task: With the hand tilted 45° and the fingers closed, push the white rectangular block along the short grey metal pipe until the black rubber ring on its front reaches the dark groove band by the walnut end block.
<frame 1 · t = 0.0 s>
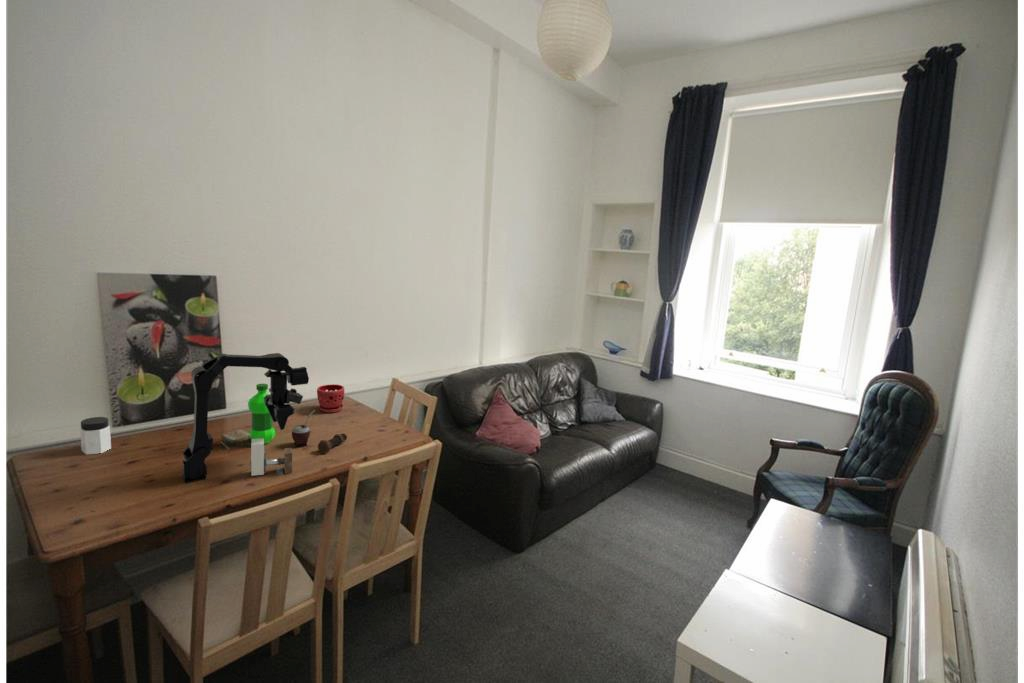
hand: (278, 425, 197), 15 cm above the table, tool pointing down, fingers open, 9 cm apart
jar: (96, 450, 195), on the table
mate gourd: (301, 445, 217), on the table
plastic bottle: (262, 442, 216), on the table
white rectangular block: (258, 456, 187), point 7 cm above the table, slide at 0.0 cm
pipe: (268, 462, 189), point 3 cm above the table
plant pot: (330, 410, 261), on the table
pipe block: (284, 461, 191), on the table
brown knobbed cylinder: (334, 447, 218), on the table
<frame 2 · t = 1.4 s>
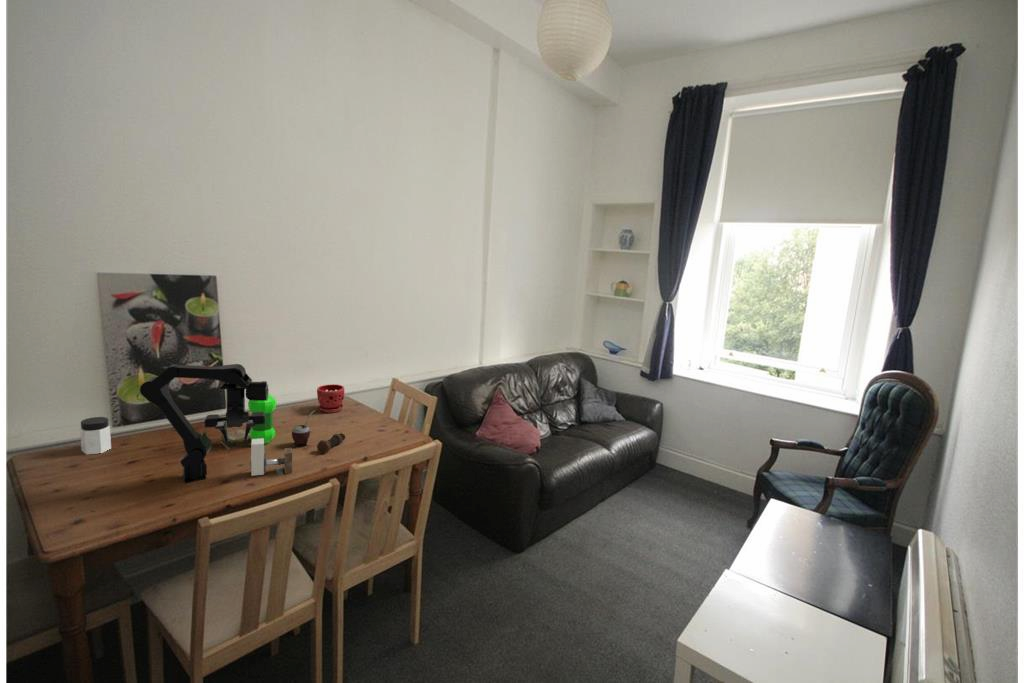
hand: (236, 442, 183), 13 cm above the table, tool pointing down, fingers open, 5 cm apart
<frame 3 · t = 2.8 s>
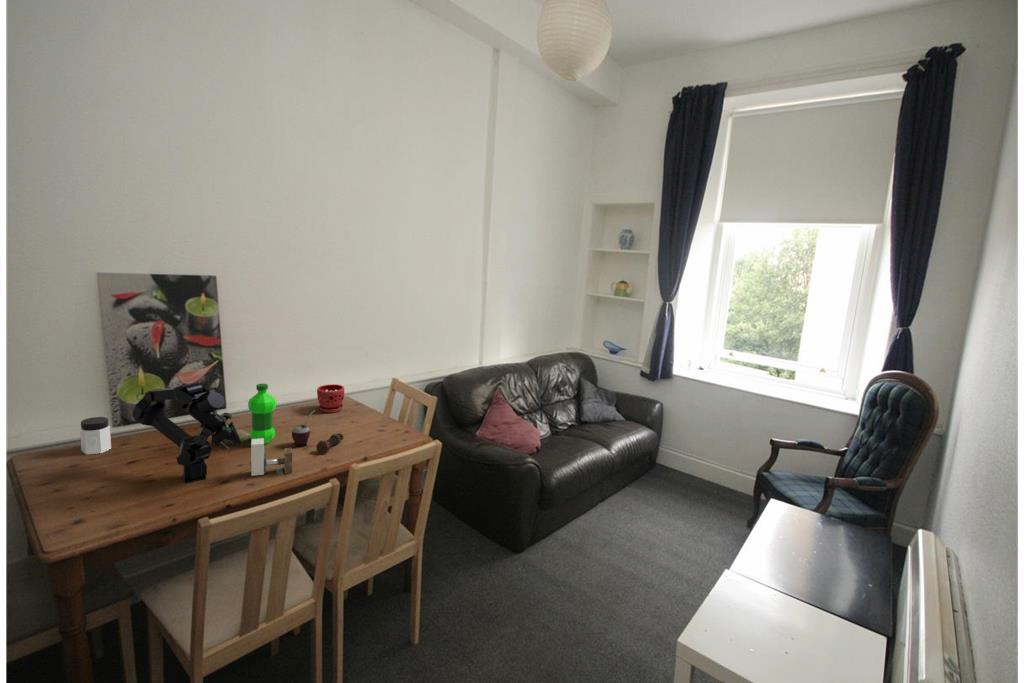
hand: (240, 443, 184), 12 cm above the table, tool tilted 45°, fingers closed
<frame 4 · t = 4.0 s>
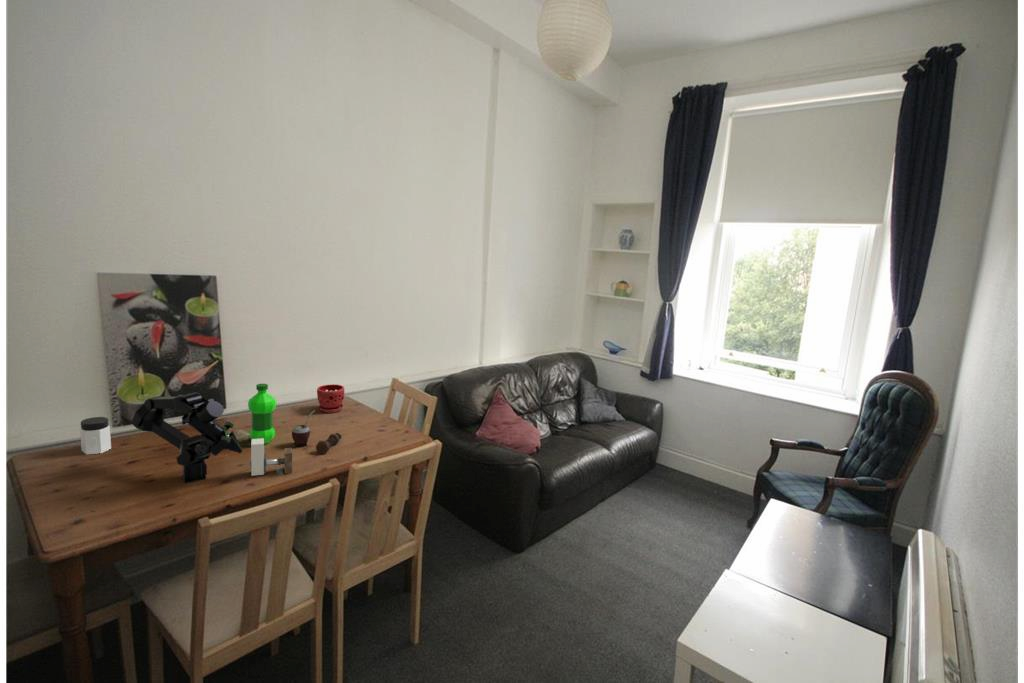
hand: (241, 452, 184), 9 cm above the table, tool tilted 45°, fingers closed
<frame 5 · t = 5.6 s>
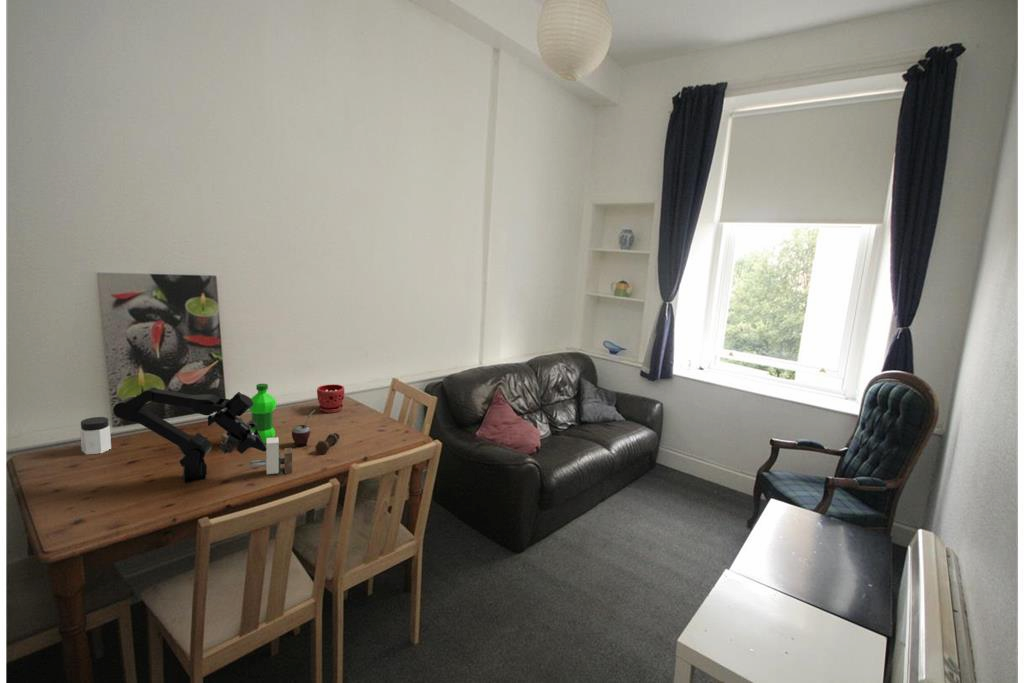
hand: (265, 450, 187), 9 cm above the table, tool tilted 45°, fingers closed, pressing on white rectangular block
white rectangular block: (273, 455, 189), point 7 cm above the table, slide at 4.9 cm, touching gripper
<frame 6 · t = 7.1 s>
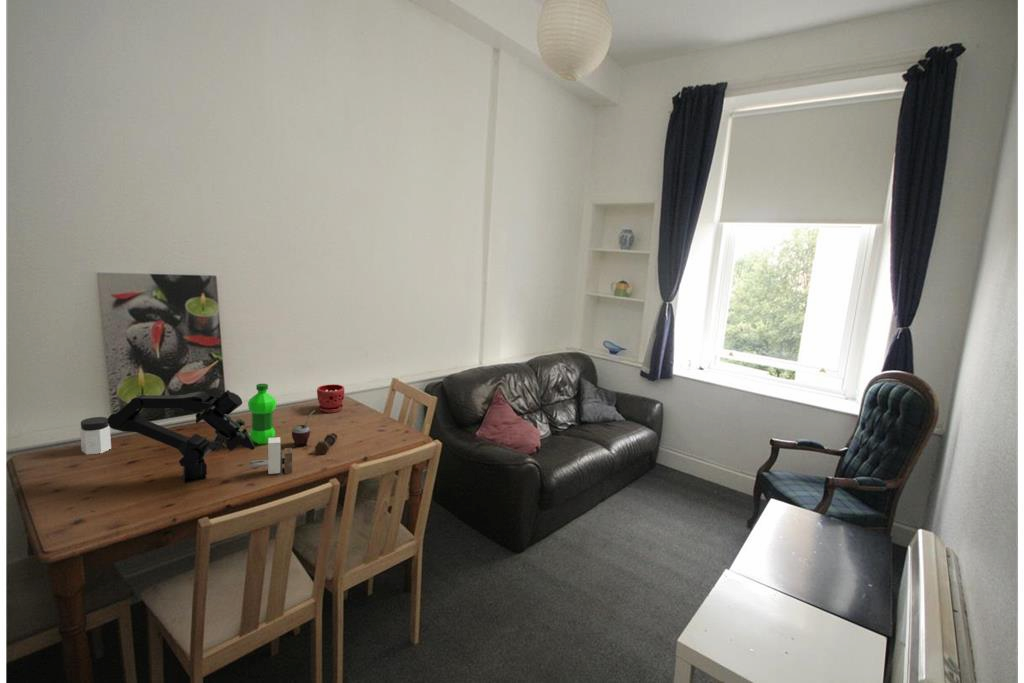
hand: (254, 448, 186), 10 cm above the table, tool tilted 45°, fingers closed
white rectangular block: (275, 455, 190), point 7 cm above the table, slide at 5.5 cm
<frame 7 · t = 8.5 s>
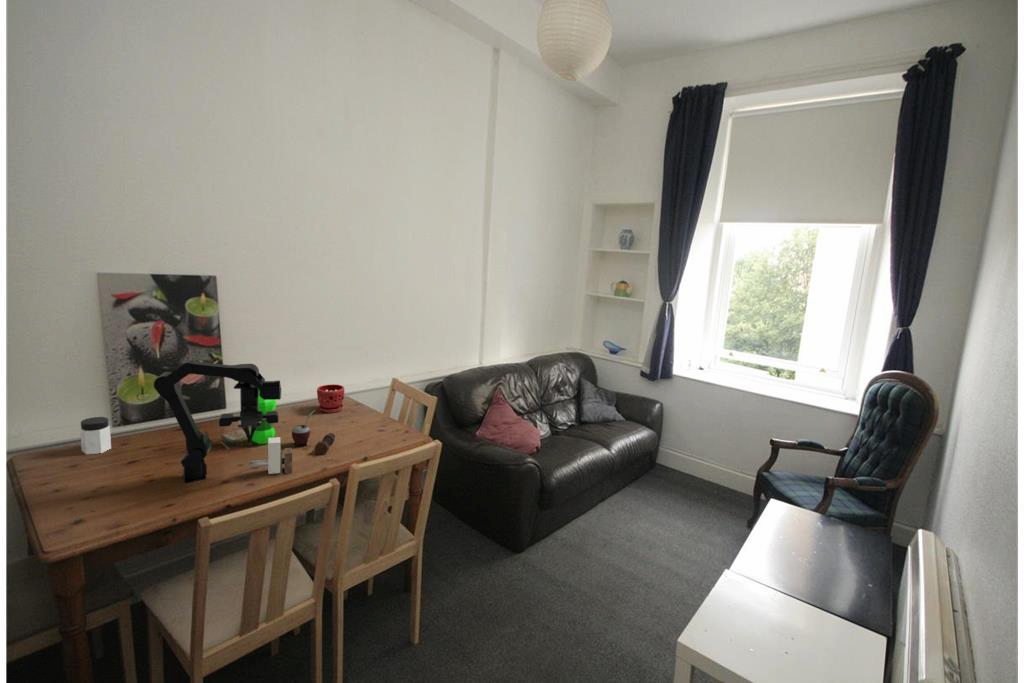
hand: (250, 440, 185), 13 cm above the table, tool pointing down, fingers closed
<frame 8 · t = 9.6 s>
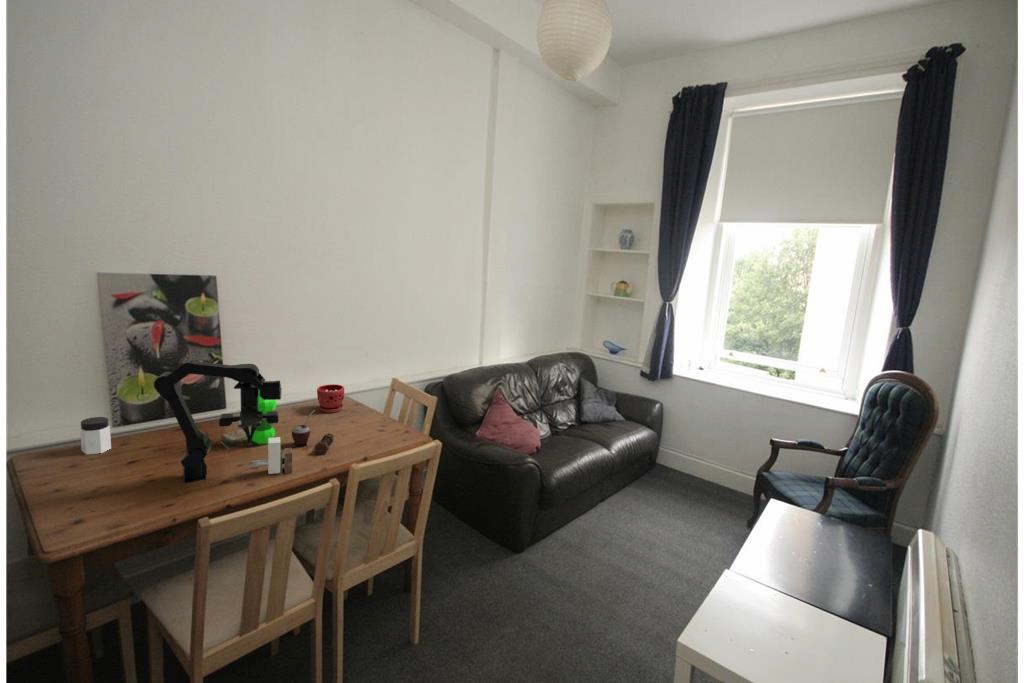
hand: (250, 440, 185), 13 cm above the table, tool pointing down, fingers closed
at the end: white rectangular block slide at 5.5 cm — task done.
